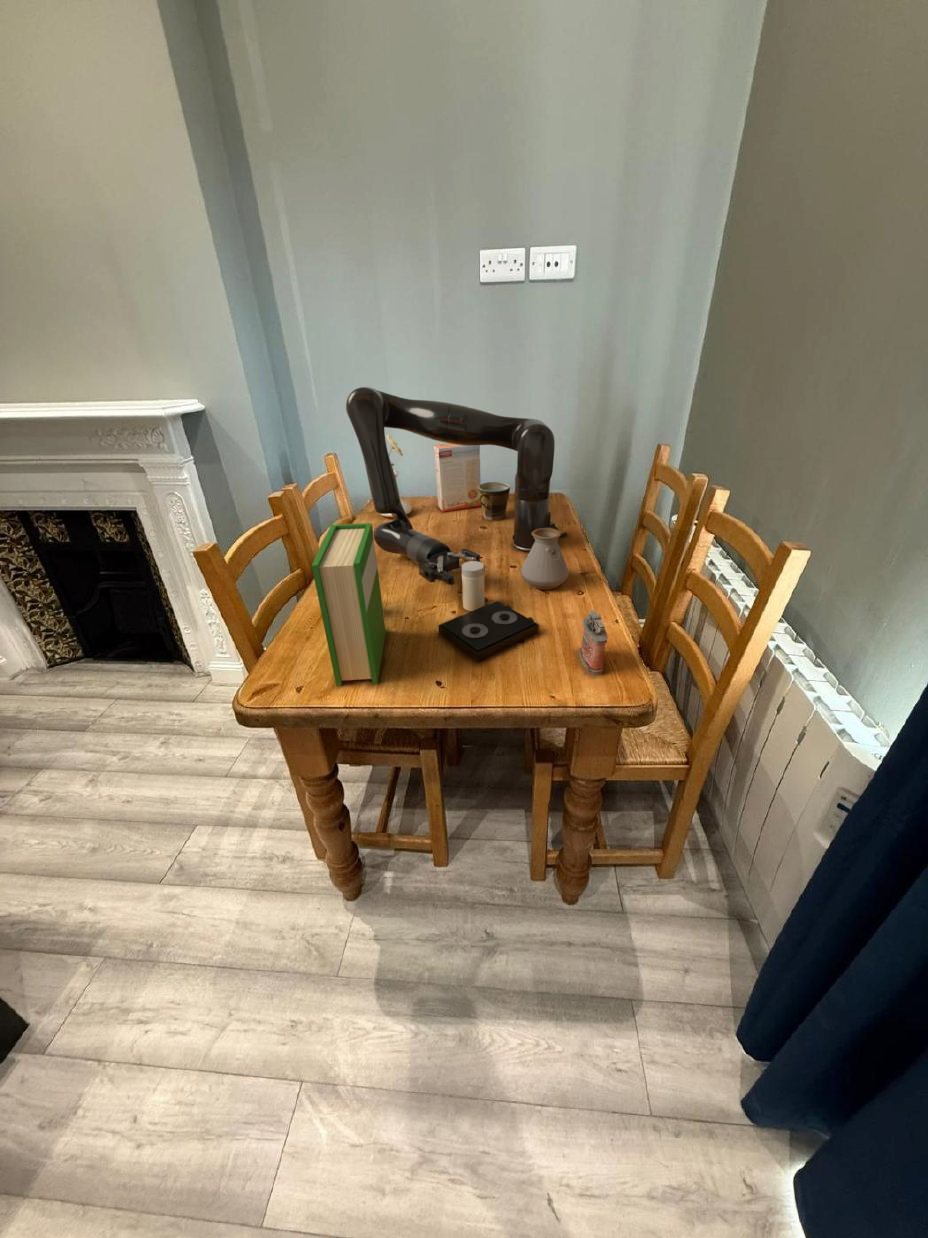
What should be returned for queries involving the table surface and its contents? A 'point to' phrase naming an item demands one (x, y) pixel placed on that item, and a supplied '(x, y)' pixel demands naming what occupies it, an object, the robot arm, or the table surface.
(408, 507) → the flower in vase
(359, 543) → the hardback book
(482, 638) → the stove
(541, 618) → the table surface
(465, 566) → the salt shaker
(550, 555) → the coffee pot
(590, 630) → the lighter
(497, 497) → the ceramic cup
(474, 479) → the cracker box
